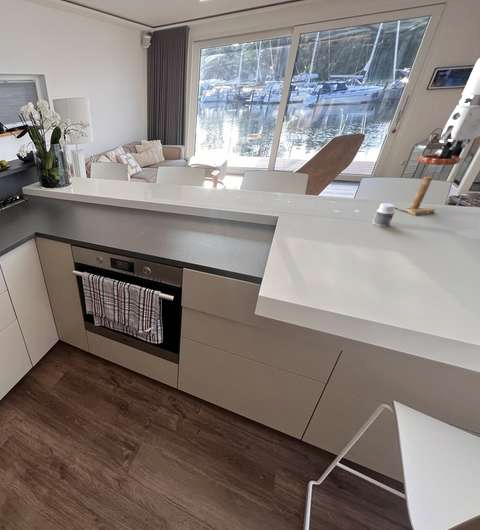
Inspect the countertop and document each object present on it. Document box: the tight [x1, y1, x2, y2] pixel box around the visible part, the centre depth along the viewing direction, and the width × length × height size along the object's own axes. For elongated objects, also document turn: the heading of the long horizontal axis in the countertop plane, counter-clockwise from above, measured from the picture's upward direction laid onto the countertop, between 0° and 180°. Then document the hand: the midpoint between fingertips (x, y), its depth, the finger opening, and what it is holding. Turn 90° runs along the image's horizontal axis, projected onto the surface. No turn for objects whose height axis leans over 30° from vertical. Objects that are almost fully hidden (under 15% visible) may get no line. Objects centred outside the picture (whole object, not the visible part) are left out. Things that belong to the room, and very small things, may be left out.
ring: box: [417, 153, 462, 166], centre depth 100 cm, size 10×10×2 cm
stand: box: [406, 176, 436, 216], centre depth 112 cm, size 8×8×13 cm
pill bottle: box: [371, 202, 396, 228], centre depth 103 cm, size 5×5×8 cm
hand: (447, 160), depth 101 cm, fingers closed on ring, 2 cm apart
